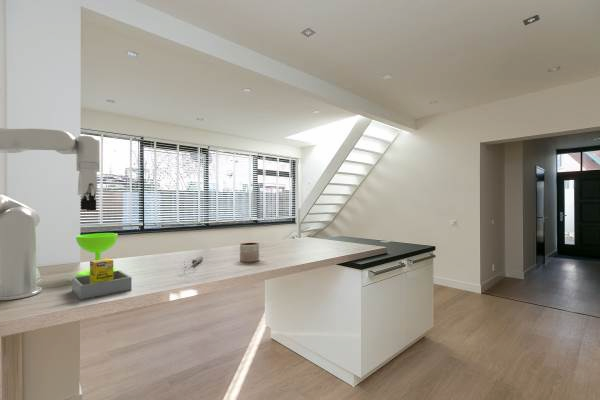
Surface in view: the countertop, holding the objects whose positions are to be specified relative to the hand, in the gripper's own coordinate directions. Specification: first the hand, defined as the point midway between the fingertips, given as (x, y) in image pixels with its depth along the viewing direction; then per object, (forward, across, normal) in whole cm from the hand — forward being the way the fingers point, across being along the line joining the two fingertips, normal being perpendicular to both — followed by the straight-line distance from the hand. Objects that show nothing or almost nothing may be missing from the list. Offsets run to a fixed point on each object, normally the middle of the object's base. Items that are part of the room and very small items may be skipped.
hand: (88, 210), depth 116 cm
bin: (+30, +12, +2) cm, 33 cm away
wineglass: (+31, -19, +7) cm, 37 cm away
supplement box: (+30, +12, +2) cm, 32 cm away
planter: (+31, +9, +73) cm, 80 cm away
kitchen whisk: (+31, -1, +45) cm, 54 cm away
